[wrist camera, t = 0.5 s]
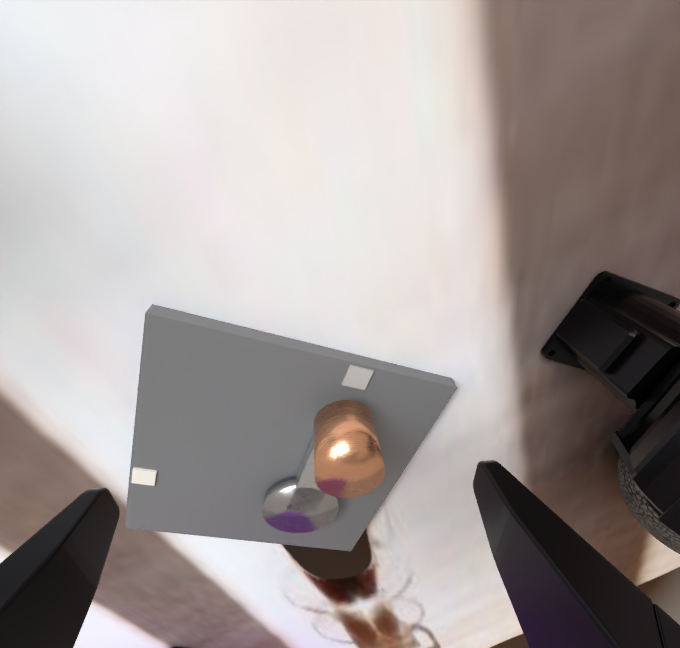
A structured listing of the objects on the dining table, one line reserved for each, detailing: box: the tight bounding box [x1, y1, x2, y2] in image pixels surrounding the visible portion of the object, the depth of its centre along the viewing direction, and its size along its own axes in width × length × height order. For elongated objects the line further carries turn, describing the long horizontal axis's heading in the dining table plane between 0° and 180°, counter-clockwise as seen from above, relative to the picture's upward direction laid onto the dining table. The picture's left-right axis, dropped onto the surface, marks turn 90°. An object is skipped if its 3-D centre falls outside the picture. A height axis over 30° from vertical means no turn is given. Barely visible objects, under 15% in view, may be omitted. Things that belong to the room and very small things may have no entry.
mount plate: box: [125, 305, 457, 551], centre depth 27 cm, size 20×21×1 cm
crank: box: [262, 400, 385, 533], centre depth 24 cm, size 15×6×5 cm, turn 161°
